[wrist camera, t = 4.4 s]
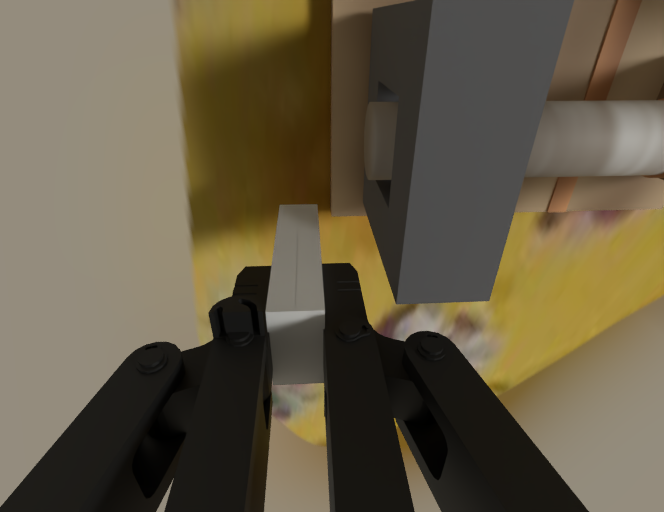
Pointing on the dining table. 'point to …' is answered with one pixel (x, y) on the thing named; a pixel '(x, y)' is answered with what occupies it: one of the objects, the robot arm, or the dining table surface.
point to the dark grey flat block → (457, 135)
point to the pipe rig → (556, 121)
